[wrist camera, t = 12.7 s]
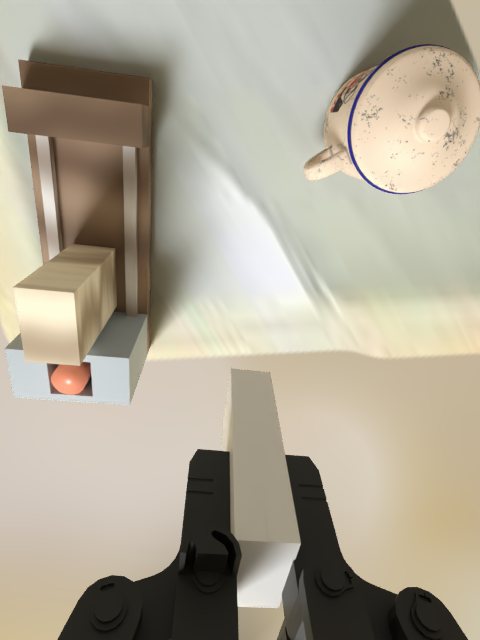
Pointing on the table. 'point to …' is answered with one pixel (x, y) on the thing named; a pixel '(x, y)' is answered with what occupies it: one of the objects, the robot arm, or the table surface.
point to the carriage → (66, 304)
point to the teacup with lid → (402, 121)
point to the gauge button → (71, 378)
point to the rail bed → (90, 166)
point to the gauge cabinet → (106, 365)
